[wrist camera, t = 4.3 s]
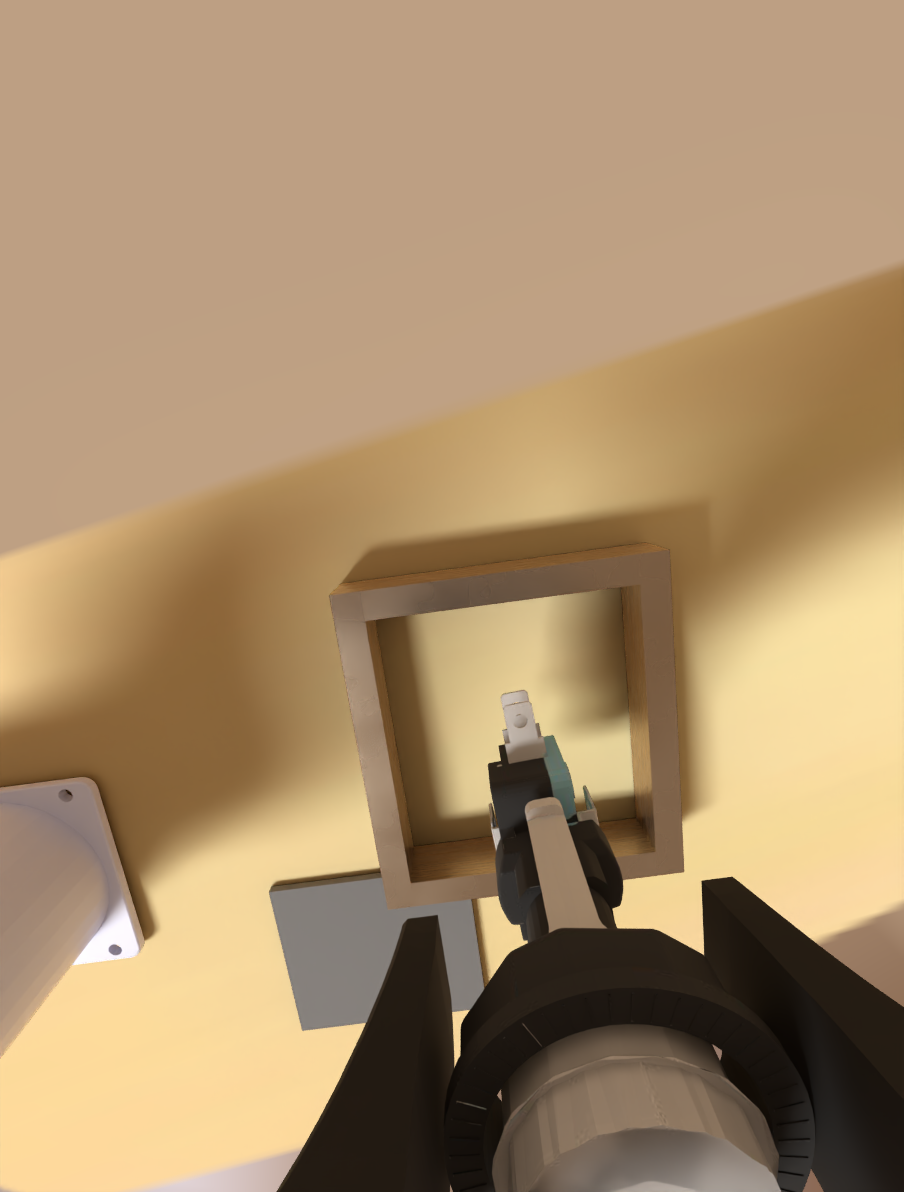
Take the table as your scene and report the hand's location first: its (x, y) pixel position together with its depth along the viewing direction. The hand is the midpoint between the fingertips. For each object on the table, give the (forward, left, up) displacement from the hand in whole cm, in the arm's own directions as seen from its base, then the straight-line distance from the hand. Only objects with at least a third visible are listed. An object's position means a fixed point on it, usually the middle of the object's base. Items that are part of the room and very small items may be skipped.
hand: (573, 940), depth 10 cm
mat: (-6, -9, -10) cm, 15 cm away
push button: (0, 0, -6) cm, 6 cm away
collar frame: (0, 0, -10) cm, 10 cm away
